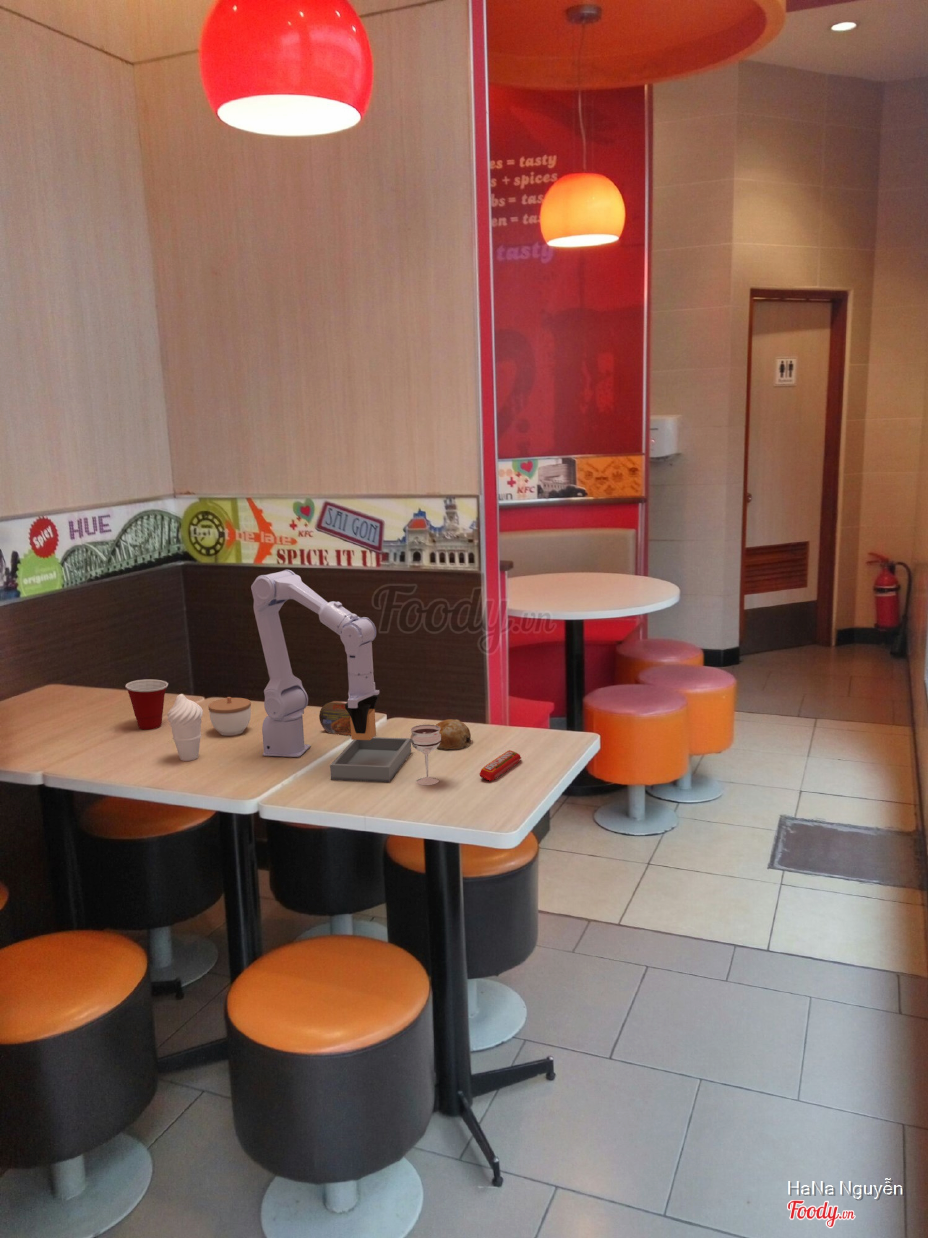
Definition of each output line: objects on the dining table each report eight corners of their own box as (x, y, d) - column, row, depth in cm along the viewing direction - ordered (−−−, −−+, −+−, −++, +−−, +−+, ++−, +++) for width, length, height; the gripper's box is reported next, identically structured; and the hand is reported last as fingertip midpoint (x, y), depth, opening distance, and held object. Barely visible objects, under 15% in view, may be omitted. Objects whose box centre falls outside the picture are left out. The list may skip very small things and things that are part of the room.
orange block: (351, 739, 223) (349, 714, 222) (357, 733, 227) (355, 708, 226) (370, 740, 222) (368, 714, 221) (376, 733, 226) (374, 709, 225)
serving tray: (330, 779, 218) (330, 765, 218) (357, 750, 237) (356, 736, 237) (389, 782, 216) (388, 767, 215) (411, 752, 235) (410, 738, 234)
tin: (319, 732, 252) (317, 701, 250) (325, 729, 255) (323, 698, 253) (371, 738, 246) (369, 706, 244) (377, 734, 249) (375, 702, 247)
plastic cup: (164, 732, 256) (160, 688, 253) (123, 733, 256) (119, 689, 253) (177, 719, 266) (173, 677, 264) (137, 720, 266) (133, 678, 264)
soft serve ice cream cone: (214, 754, 238) (208, 691, 234) (191, 766, 230) (185, 700, 227) (187, 750, 241) (181, 688, 238) (163, 761, 234) (157, 697, 230)
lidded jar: (217, 741, 247) (214, 705, 245) (206, 730, 256) (202, 696, 254) (258, 733, 252) (255, 698, 250) (245, 723, 262) (243, 689, 260)
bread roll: (458, 765, 235) (472, 737, 233) (420, 747, 236) (433, 718, 234) (466, 751, 245) (479, 724, 243) (430, 733, 246) (442, 706, 243)
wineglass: (423, 773, 220) (420, 722, 218) (448, 778, 217) (446, 726, 215) (406, 783, 215) (403, 731, 212) (432, 788, 211) (430, 735, 209)
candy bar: (491, 784, 213) (491, 771, 213) (476, 782, 215) (476, 769, 215) (523, 761, 227) (523, 749, 226) (509, 759, 229) (509, 747, 228)
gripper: (368, 681, 214) (371, 740, 217) (386, 664, 228) (389, 720, 230) (337, 680, 215) (341, 739, 218) (357, 663, 229) (360, 719, 232)
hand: (363, 729), depth 224 cm, fingers closed on orange block, 4 cm apart
